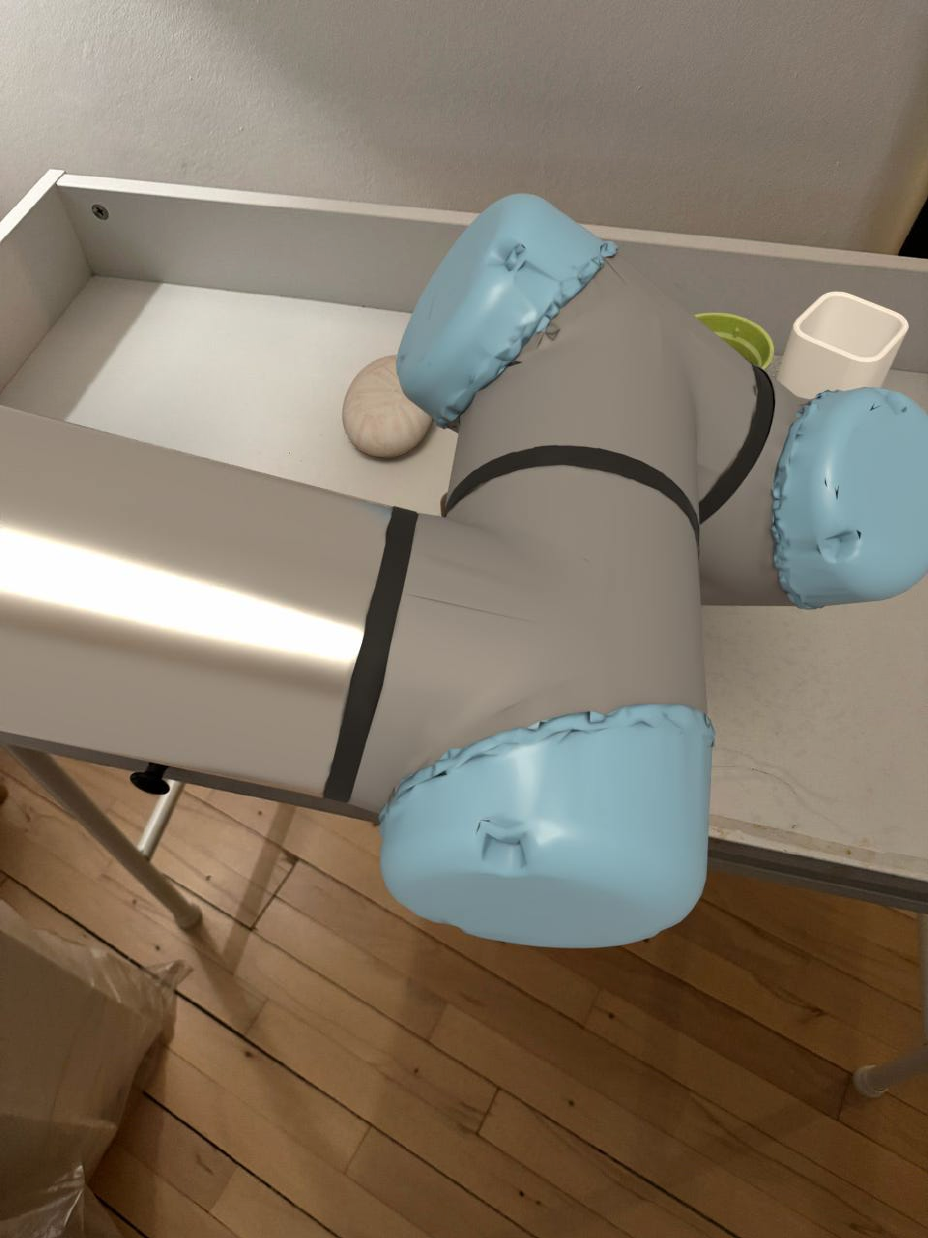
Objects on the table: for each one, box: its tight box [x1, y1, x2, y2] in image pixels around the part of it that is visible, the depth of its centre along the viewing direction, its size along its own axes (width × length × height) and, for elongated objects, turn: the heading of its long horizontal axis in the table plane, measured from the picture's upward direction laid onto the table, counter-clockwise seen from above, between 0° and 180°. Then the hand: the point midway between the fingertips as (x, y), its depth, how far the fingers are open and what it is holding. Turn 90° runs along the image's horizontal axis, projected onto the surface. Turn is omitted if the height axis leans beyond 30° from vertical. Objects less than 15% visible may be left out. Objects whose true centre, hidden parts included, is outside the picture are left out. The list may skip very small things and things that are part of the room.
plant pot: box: [693, 312, 775, 371], centre depth 77 cm, size 9×9×9 cm
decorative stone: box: [341, 354, 434, 458], centre depth 80 cm, size 13×9×5 cm
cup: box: [775, 291, 910, 399], centre depth 71 cm, size 7×7×15 cm
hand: (423, 560), depth 62 cm, fingers closed on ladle, 2 cm apart
